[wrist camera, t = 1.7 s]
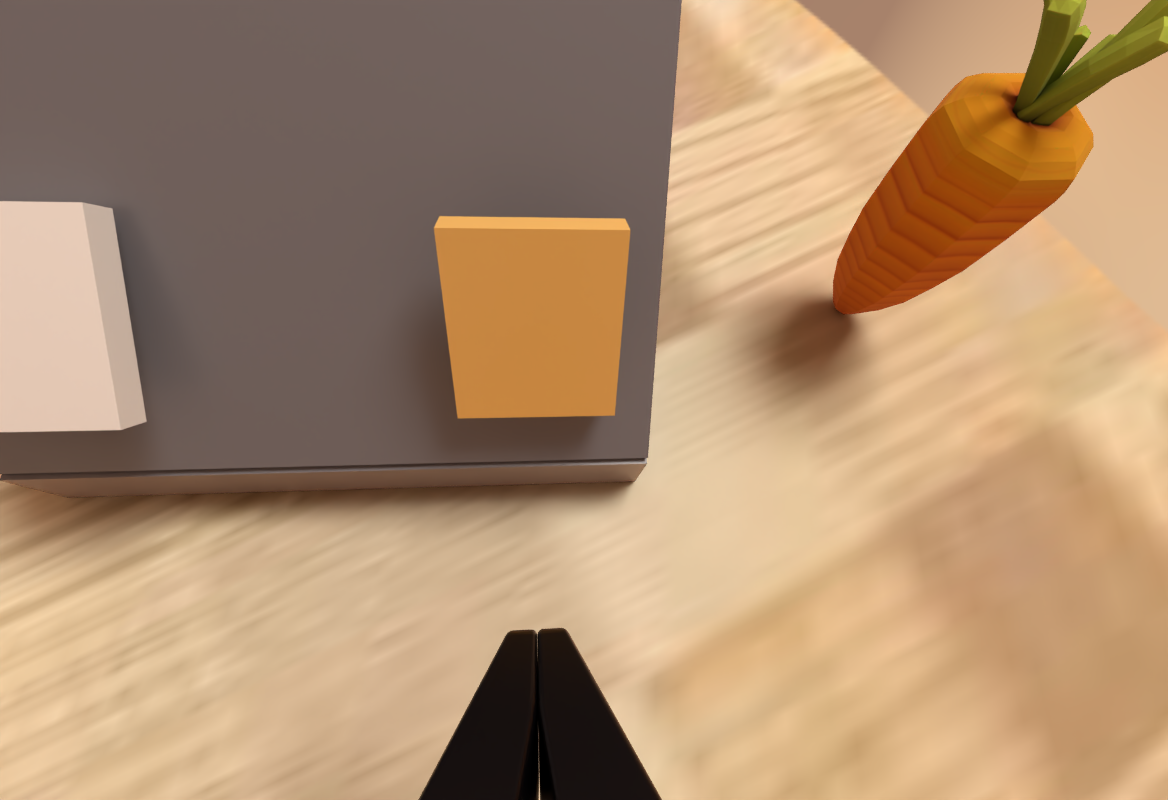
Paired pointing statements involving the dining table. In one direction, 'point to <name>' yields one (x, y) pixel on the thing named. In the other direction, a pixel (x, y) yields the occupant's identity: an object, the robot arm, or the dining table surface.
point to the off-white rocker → (64, 321)
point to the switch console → (332, 223)
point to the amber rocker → (533, 313)
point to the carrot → (987, 161)
